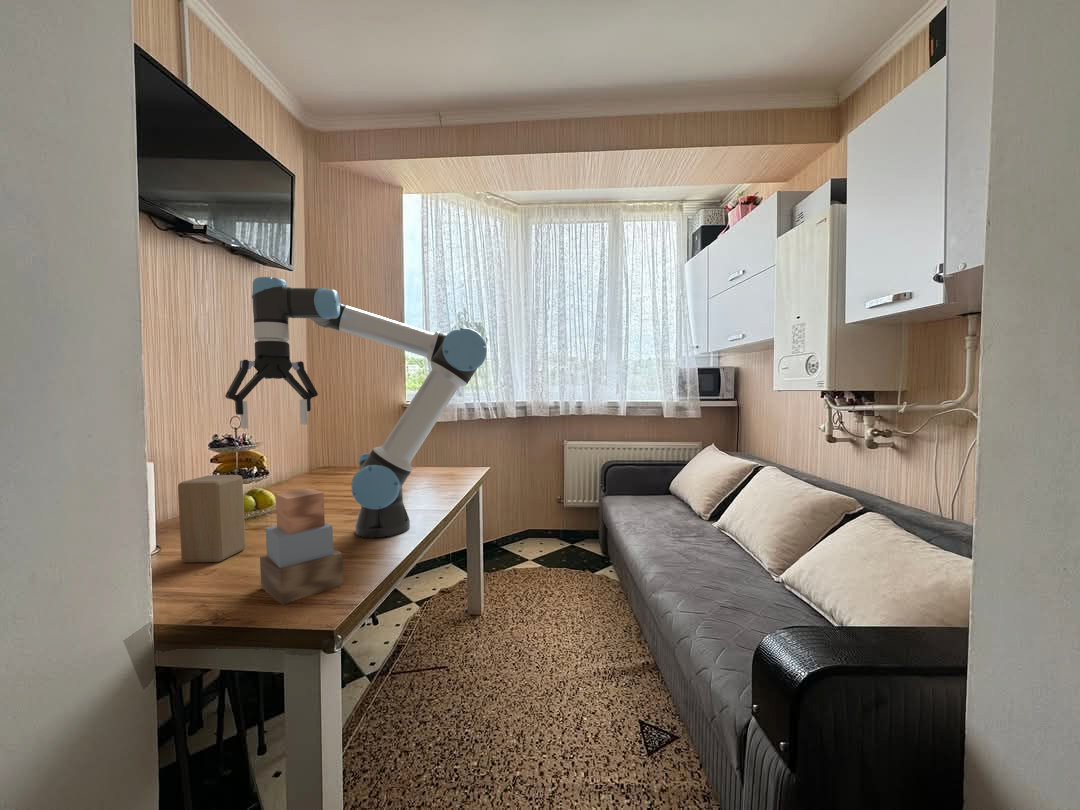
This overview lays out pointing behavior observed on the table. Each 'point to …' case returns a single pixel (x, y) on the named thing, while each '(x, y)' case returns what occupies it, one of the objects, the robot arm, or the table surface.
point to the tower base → (301, 577)
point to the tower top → (298, 545)
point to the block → (211, 518)
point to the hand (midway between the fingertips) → (275, 426)
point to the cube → (300, 510)
